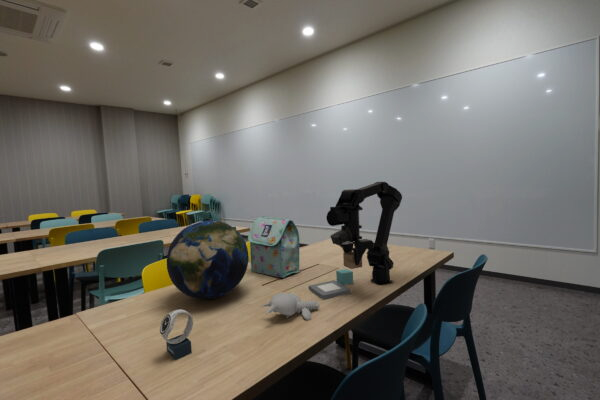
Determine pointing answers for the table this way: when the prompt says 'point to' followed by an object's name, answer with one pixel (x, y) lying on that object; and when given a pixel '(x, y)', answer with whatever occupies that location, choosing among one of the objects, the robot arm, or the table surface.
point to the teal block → (344, 276)
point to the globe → (207, 259)
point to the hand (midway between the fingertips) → (352, 263)
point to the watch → (180, 343)
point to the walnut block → (350, 260)
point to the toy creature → (291, 305)
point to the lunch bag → (274, 247)
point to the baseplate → (329, 289)
